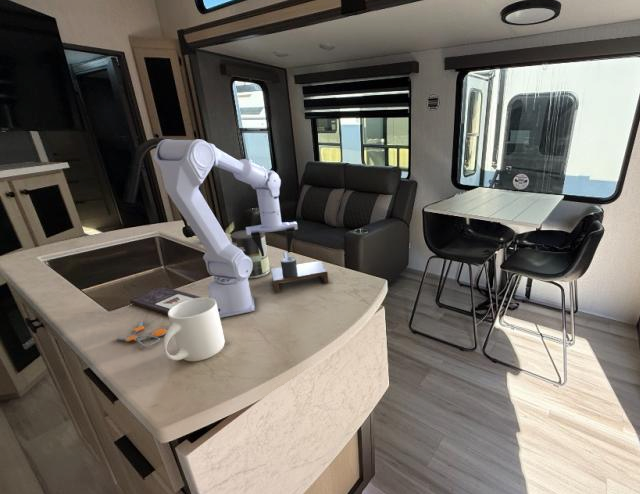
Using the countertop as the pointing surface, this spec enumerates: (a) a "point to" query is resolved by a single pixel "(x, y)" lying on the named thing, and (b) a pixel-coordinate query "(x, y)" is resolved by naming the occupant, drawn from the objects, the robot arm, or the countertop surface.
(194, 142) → the robot arm
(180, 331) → the mug
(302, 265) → the shelf
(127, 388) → the countertop surface
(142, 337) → the key chain
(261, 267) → the coffee can
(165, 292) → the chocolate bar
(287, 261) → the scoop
